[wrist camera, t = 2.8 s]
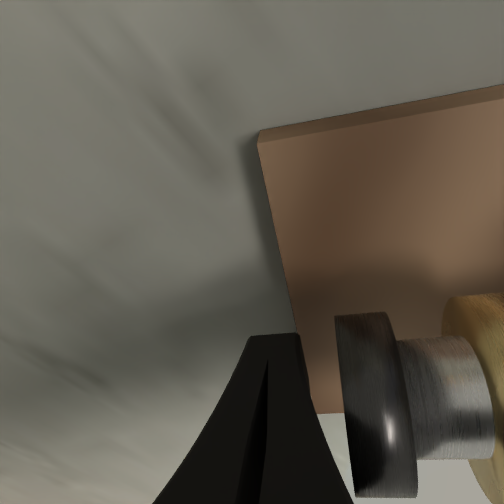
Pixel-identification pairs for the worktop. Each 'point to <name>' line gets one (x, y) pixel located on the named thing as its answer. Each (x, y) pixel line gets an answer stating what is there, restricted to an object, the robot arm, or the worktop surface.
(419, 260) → the base board
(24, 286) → the worktop surface
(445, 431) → the shaft
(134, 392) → the worktop surface
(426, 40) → the worktop surface
